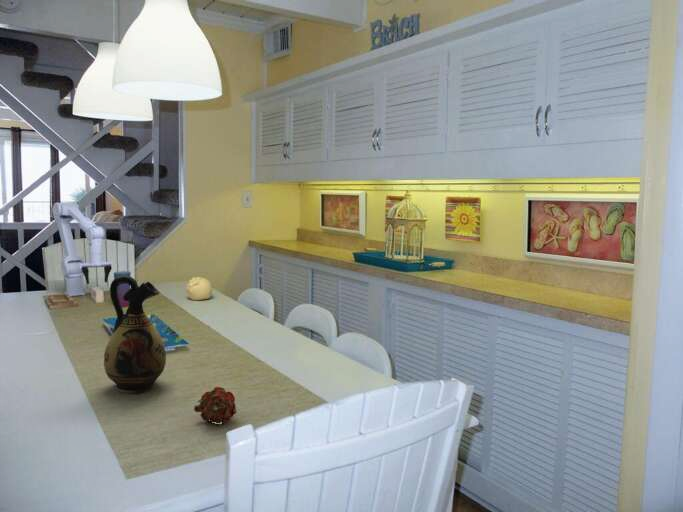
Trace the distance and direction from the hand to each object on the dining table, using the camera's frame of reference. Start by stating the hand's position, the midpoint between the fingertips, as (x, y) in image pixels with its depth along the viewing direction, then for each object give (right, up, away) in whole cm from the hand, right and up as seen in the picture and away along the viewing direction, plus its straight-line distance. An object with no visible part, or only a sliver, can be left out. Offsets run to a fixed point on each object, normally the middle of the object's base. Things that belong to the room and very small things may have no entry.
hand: (96, 282), depth 250 cm
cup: (+16, -10, -11) cm, 22 cm away
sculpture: (+45, -8, +8) cm, 46 cm away
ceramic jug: (+57, -23, -104) cm, 121 cm away
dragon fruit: (+83, -26, -124) cm, 151 cm away
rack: (-12, -9, -9) cm, 17 cm away
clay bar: (0, -8, +1) cm, 8 cm away
